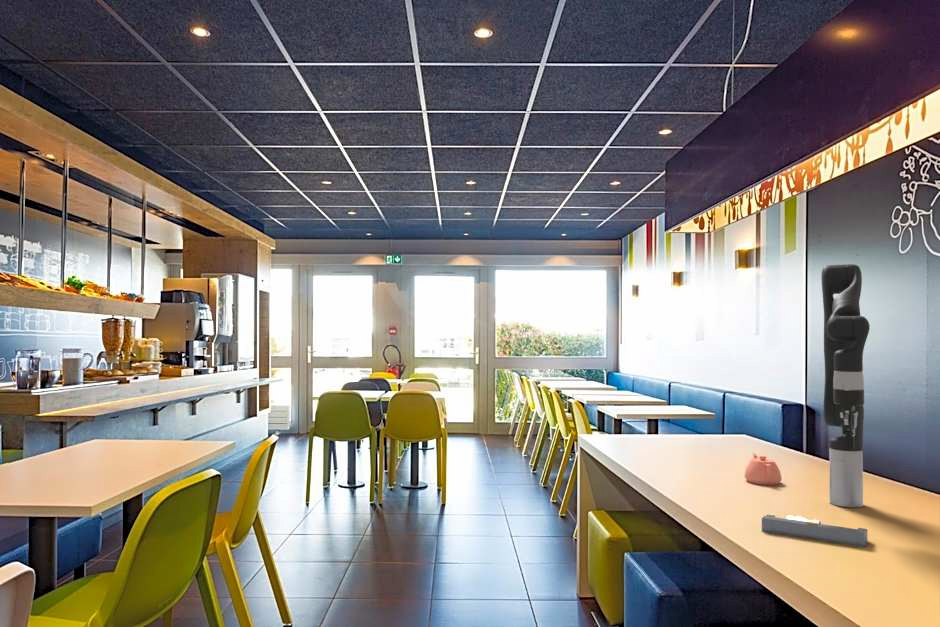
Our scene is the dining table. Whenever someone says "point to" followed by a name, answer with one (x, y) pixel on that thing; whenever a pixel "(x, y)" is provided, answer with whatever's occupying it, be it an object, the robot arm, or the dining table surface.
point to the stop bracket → (815, 531)
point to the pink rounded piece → (762, 471)
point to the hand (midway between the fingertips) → (849, 449)
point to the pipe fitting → (801, 519)
